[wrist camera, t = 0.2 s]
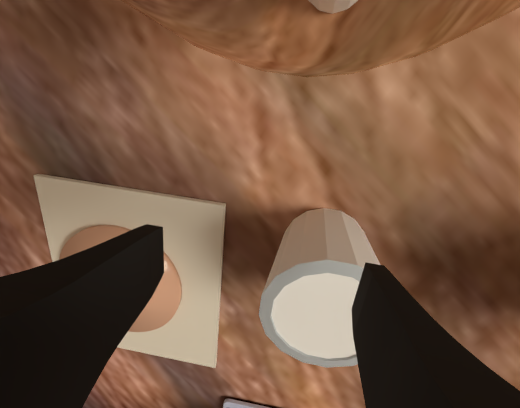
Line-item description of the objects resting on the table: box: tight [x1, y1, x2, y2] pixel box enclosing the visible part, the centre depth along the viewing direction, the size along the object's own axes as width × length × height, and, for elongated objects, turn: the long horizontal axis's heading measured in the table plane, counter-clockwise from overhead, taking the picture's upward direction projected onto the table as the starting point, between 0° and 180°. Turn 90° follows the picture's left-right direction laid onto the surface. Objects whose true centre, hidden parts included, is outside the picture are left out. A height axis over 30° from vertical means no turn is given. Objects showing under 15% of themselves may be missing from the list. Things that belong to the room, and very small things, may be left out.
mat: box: [33, 174, 226, 368], centre depth 25 cm, size 16×14×1 cm
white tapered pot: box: [259, 208, 380, 367], centre depth 19 cm, size 7×7×7 cm
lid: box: [59, 225, 182, 332], centre depth 24 cm, size 10×10×4 cm
